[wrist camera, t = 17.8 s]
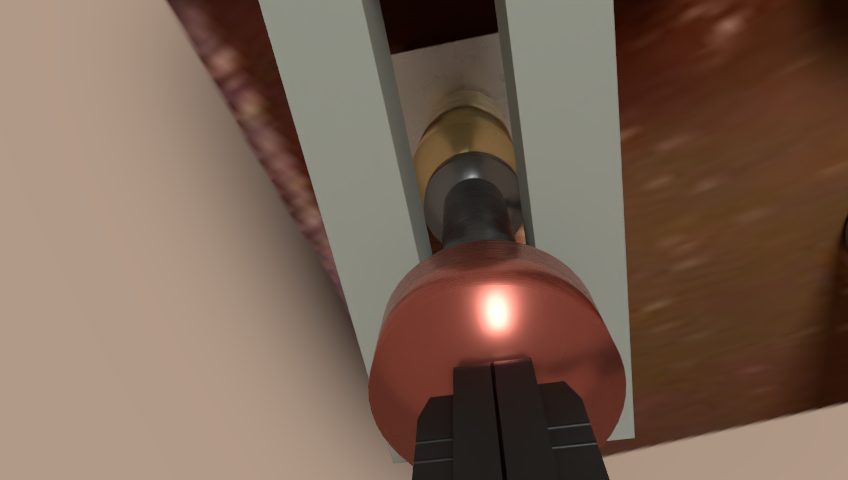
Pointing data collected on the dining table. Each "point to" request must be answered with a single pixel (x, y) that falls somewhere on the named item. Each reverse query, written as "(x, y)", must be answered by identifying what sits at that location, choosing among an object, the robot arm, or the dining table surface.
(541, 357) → the ram
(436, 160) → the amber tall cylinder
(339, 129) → the press frame
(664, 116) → the dining table surface
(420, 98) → the plate
